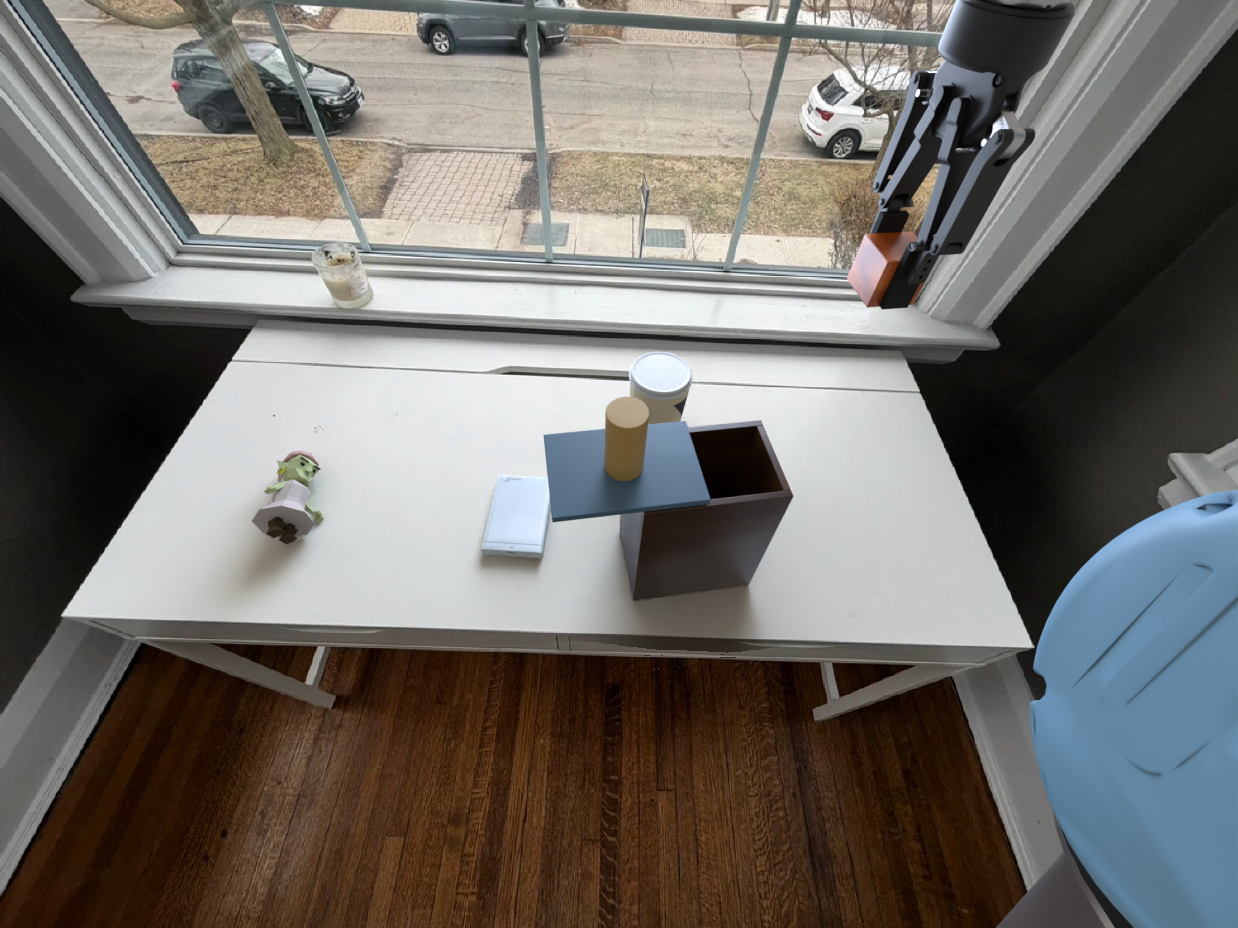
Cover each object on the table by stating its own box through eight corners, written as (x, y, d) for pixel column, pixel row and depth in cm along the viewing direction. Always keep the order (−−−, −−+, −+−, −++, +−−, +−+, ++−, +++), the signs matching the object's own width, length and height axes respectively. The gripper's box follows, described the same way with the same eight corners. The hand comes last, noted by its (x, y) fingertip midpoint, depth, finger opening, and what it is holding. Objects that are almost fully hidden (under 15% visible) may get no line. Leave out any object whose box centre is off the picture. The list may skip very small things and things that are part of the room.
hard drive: (497, 474, 80) (480, 548, 72) (553, 477, 80) (541, 552, 72) (499, 480, 81) (482, 554, 74) (554, 484, 81) (542, 558, 74)
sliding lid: (709, 504, 54) (726, 447, 47) (552, 522, 52) (545, 466, 45) (684, 425, 61) (696, 365, 54) (543, 439, 59) (537, 379, 52)
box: (748, 585, 72) (793, 496, 56) (632, 601, 70) (644, 513, 54) (726, 518, 79) (761, 419, 62) (619, 531, 77) (626, 433, 60)
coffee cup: (683, 450, 86) (694, 395, 77) (624, 446, 86) (628, 392, 77) (682, 407, 92) (692, 351, 82) (626, 404, 92) (630, 348, 82)
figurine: (271, 510, 66) (295, 424, 76) (226, 534, 68) (255, 447, 77) (329, 541, 72) (344, 458, 82) (286, 562, 74) (307, 478, 84)
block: (913, 304, 55) (938, 259, 51) (866, 307, 54) (888, 261, 50) (890, 276, 58) (912, 230, 54) (846, 278, 57) (864, 233, 53)
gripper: (1168, 32, 32) (961, 344, 51) (994, -36, 43) (875, 240, 61) (1055, 32, 31) (885, 349, 50) (907, -38, 42) (812, 243, 61)
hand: (880, 289), depth 55 cm, fingers closed on block, 5 cm apart
